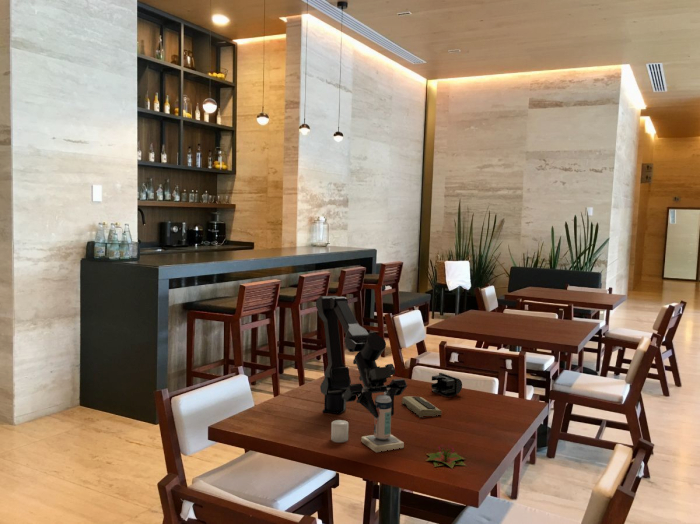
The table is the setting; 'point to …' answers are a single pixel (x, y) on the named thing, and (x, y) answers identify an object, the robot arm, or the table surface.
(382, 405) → the beer can
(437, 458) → the lily flower
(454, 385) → the end cap
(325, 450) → the table surface
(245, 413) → the table surface
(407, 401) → the computer
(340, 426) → the white rounded cylinder
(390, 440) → the stand
